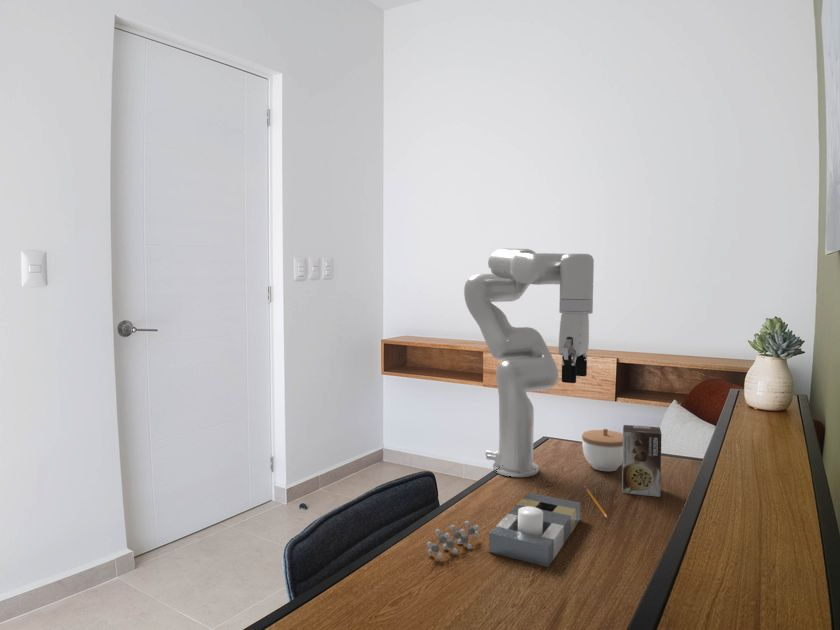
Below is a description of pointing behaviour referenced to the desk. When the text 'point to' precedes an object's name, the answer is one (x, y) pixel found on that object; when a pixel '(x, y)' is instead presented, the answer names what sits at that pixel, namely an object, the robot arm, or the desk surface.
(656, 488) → the coffee box
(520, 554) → the socket block
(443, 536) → the molecular model
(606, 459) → the lidded bowl
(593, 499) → the pencil
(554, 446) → the desk surface
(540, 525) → the white capsule cylinder
